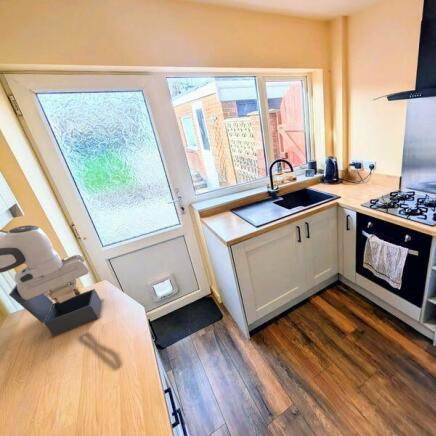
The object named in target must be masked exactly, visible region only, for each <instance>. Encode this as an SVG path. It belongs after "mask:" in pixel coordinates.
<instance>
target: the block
mask: <svg viewBox="0 0 436 436" xmlns="http://www.w3.org/2000/svg"><path fill="white" fill-rule="evenodd" d="M52 291H53V294H54V295H55V297H56V298H57V300H58V301H59V303H62V302H64V301H66V300H68V299H70V298H72V297H75V293H74V291H73V290H72V289H71V287H70V285H69V283H66V284H63V285H61V286H59V287H56V288H54V289H52Z"/></svg>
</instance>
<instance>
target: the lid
mask: <svg viewBox="0 0 436 436" xmlns="http://www.w3.org/2000/svg"><path fill="white" fill-rule="evenodd" d="M8 296H9V297H11V298H12V299H13V300H14V301H15V302H17V303H18V304H19V305H20V306H21V307H22V308H24V309H25V310H26V311H27V312H28V313H30V314H31V315H32V316H33V317H34V318H35V319H37V320H38V321H39V322H40V323H41V324H43V323H44V322H45V320H46V318H47V316H48V313H49V311H50V309H51V306H52V304H53V303H54V302H53V300H52V299H51V298H50V297H48V296H44V294H40V295H38V296H36V297H33V298H31V299H29V300H24V299H22V298H21V297H20V295H19V293H18V290H17V283H16V284H15V285H14V287H13V288H12V290H11V291H10V293H9V294H8Z"/></svg>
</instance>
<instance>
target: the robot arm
mask: <svg viewBox="0 0 436 436" xmlns="http://www.w3.org/2000/svg"><path fill="white" fill-rule="evenodd" d="M22 265H26V266H25V267H23V268H22V269H20V270H19V271H17V272H16V273H15V274H14V277H13V278H14V281H15V283H16V284H17V290H18V293H19V295H20V297H21V298H22V299H24V300H29V299H31V298H33V297H36V296H38V295H40V294H44V296H47V297H48V298H49V299H50V300H51V301H55V300H54V299H56V297H55V295H54V294H50V293H49V290H52V289H54V288H56V287H59V286H61V285H63V284H66V283H68V282H70V281H71V282H72V283H73V284H72V285H71V286H70V287H71V289H72V290H73V291H74V290H76V289H77V288H76V282H77V279H79V278H81V277H84V276H87V275H89V272H90V270H89V268H88V266H87V265H86V264H85V259H84V257H83V256H82V254H73V255H70V256H68V257H64V258H61V257H60V255H59V253H58V252H57V251H56V250H55V249H54V248H53V243H52V241H51V240H50V239H49V237H48V236H47V234H46V233H45V232H44V230H42V229H41V228H40V226H37V225H21V226H16V227H13V228H11V229H10V230H8V231H6V230H2V229H0V274H1V273H6V272H8V271H10V270H12V269H15V268H18V267H20V266H22Z"/></svg>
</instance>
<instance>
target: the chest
mask: <svg viewBox="0 0 436 436" xmlns="http://www.w3.org/2000/svg"><path fill="white" fill-rule="evenodd" d="M101 305H102V300H101V298H100V296H99V293H98V292H97V290H96V288H93V289H90V290H87V291H85V292H82V293H81V294H79V295H76V296H75V297H72V298H70V299H68V300H66V301H64V302H62V303H59V302H53V304H52V306H51V308H50V310H49V313H48V315H47V317H46V320H45V322H43V323H44V326H45V327H46V328H47V329H48V331H49V332H50V334H51V335H52V336H53V337H56V336H58V335H60V334H63V333H66V332H68V331H70V330H73V329H76V328H78V327H81V326H83V325H85V324H88V323H90V322H93V321H96V320H98V319H99V317H100V312H101Z"/></svg>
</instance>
